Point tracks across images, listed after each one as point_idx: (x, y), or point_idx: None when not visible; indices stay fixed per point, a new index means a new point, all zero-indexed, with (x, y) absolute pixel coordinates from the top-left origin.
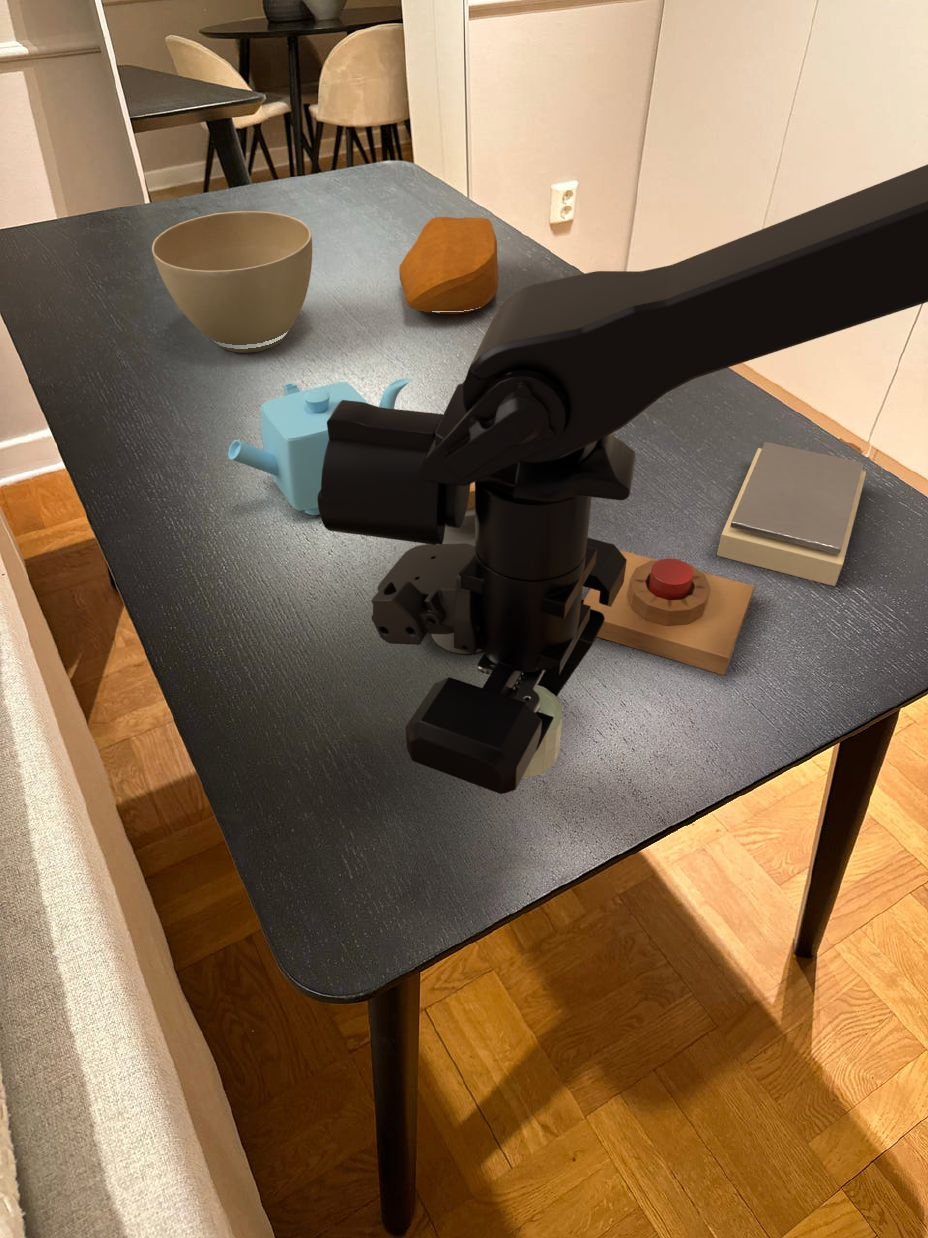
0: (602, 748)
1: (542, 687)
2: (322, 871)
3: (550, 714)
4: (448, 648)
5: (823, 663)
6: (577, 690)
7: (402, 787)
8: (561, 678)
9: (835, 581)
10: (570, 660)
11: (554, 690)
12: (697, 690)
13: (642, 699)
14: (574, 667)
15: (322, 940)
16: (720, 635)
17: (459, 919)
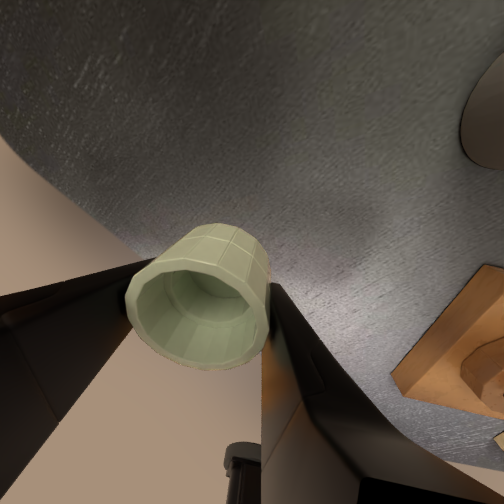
0: (299, 298)
1: (262, 346)
2: (59, 38)
3: (241, 329)
4: (481, 83)
5: (400, 419)
6: (375, 274)
7: (202, 104)
8: (263, 398)
9: (499, 444)
10: (266, 477)
11: (263, 357)
12: (373, 358)
13: (362, 324)
14: (261, 459)
15: (5, 83)
16: (436, 395)
17: (100, 213)
